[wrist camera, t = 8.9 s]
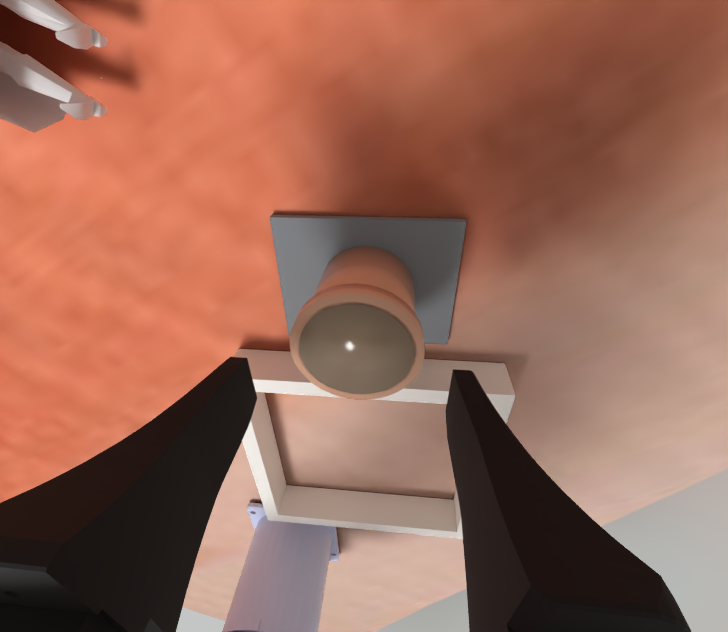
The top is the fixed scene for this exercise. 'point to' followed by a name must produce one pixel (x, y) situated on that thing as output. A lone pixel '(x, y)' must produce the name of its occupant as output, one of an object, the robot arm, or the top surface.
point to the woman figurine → (44, 71)
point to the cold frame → (343, 505)
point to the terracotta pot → (360, 327)
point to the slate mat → (395, 234)
